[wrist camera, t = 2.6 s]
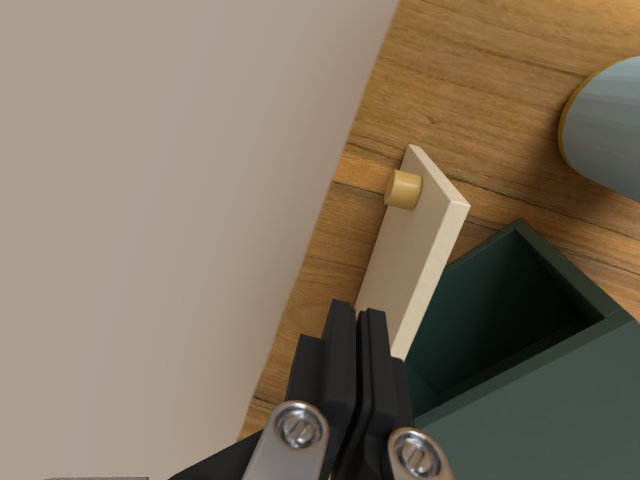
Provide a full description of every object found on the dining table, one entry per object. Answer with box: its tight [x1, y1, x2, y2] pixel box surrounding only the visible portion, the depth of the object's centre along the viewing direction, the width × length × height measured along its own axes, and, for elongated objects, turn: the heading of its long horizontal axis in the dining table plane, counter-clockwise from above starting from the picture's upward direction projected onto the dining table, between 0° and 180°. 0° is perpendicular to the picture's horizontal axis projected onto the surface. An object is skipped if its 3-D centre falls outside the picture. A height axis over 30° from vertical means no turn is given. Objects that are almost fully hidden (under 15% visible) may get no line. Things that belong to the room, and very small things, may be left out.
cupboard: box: [404, 218, 640, 480], centre depth 24 cm, size 10×14×12 cm
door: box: [354, 144, 470, 362], centre depth 22 cm, size 2×14×11 cm, turn 167°
